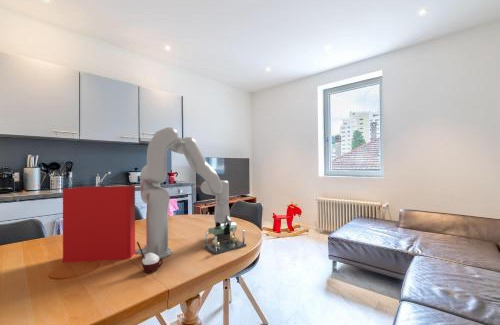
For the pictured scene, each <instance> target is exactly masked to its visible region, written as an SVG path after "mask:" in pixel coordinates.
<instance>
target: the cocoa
mask: <svg viewBox="0 0 500 325" xmlns="http://www.w3.org/2000/svg"><path fill="white" fill-rule="evenodd" d="M136 244H137V246H138V248H139V249H140V251H141V253H142V254H141V255H142V260H141V265H142V270H143V271H144V272H146V273H149V274H150V273H153V272H154V273H155V272H156V271H157V269H159V268H160V267H161V266H162V264H163V262H164V260H163V258H161V259H159V257H158V256H157V255H156V254H154V253H147V254H146V255H145V256H144V254H143V252H142V250H141V249H142V248H141V246H140V243H139V241H137V242H136ZM160 262H161V263H160Z"/></svg>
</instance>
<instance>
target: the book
mask: <svg viewBox="0 0 500 325" xmlns="http://www.w3.org/2000/svg"><path fill="white" fill-rule="evenodd" d="M135 250H136V186H135V185H112V186H110V185H109V186H108V185H107V186H106V185H103V186H100V185H99V186H74V188H72V187H71V188H62V263H79V262H80V263H81V262H82V263H84V262H99V261H100V262H102V261H120V260H129V259H131V258H132V257H133V256H135V255H136V254H135Z"/></svg>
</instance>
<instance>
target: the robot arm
mask: <svg viewBox="0 0 500 325" xmlns="http://www.w3.org/2000/svg"><path fill="white" fill-rule="evenodd" d="M168 151H170V152H173V153H177V154H180V155H184V157H185V159H186V161H187V163H188V165H189V167H190V168H191V170H192V171H194V173H196V174H198V175H200V177H202V179H204V181H203V182H202V183H201V184H200V190H201V192H202V193H203V194H205V195H212V196H215V206H214V215H213V218H214V219H213V220H214V224H215V227H219V226H221V224H223V223H224V226H225V228H224V235H228V234H230V235H231V232H230V225H231V222H232V219H231V216H230V214H231V213H230V206H229V204H230V186H229V185H230V183H229V181H228V180H225V179H224V180H223V179H220V177H219V175H218V173H217V172H216V171H215V169H214V168H213V167H212V166H211V165H210V164H209V163H208V162H207V161H206V159H205V156H204V154H203V152H202V150H201V148H200V146H199V145H198V143H197V140H196V139H194V138H193V137H191V136H190V137H189V136H187V137H186V136H185V137H179V134H178V131H177V130H176V129H175V128H173V127H164V128H162V129H159V130H157V131H155V133H154V134H153V137H152V138H151V140H150V141H149V142H148V145H147V150H146V164H145V165H144V166H143V167H142V169H141V171H140V178H139V180H140V181H139V182H140V187H139V188H140V189H139V190H140V198H141V200H142V202H143V203H144V204H146V206H147V207H146V216H145V225H146V226H145V228H146V229H145V230H146V231H145V232H146V234H145V237H146V238H145V241H146V242H145V245H144V247H142V248H141V250H142V252H143V254H144V256H145V255H146V254H147V253H154V254H156V255H157V256H158V257H159V260H161V259H163V258H167V257H169V256H171V254H172V252H173V251H172V249H171V248H170V247H169V206H170V199H171V198H170V194H169V192H168V190H167V189H166V188H164V187H162V186H161V184H163V182H165V180H166V179H167V175H168V174H167V153H168ZM226 223H227V225H226ZM134 255H140V256H141V255H142V253H141V251H140V249H138V248H137V249H135V254H134Z"/></svg>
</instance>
